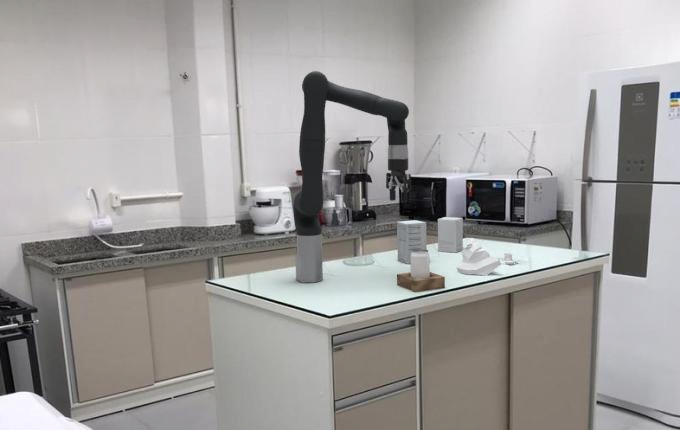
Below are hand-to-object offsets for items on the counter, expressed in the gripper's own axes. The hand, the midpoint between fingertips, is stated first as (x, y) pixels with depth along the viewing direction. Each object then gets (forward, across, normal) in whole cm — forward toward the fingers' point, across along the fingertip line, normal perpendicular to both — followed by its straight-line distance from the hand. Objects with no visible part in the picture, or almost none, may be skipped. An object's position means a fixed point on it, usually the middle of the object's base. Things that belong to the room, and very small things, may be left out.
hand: (398, 201), depth 220 cm
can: (+28, +18, -2) cm, 33 cm away
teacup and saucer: (+29, +2, +47) cm, 55 cm away
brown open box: (+28, +18, -2) cm, 33 cm away
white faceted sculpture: (+28, +10, +28) cm, 41 cm away
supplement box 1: (+28, -20, +18) cm, 39 cm away
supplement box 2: (+28, -32, +46) cm, 63 cm away
